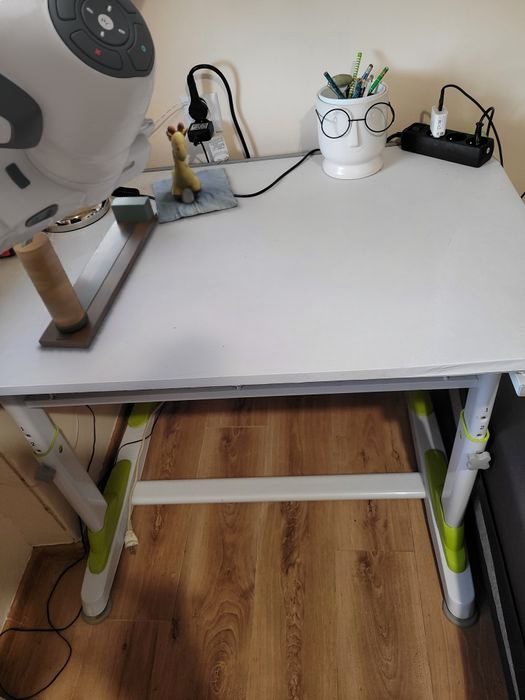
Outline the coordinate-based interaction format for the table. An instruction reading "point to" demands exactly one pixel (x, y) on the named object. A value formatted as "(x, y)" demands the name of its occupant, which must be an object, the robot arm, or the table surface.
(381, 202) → the table surface
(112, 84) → the robot arm
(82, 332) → the track board
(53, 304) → the upright wooden cylinder
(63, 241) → the table surface
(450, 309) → the table surface
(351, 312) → the table surface
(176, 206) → the stuffed giraffe
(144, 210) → the stop block
